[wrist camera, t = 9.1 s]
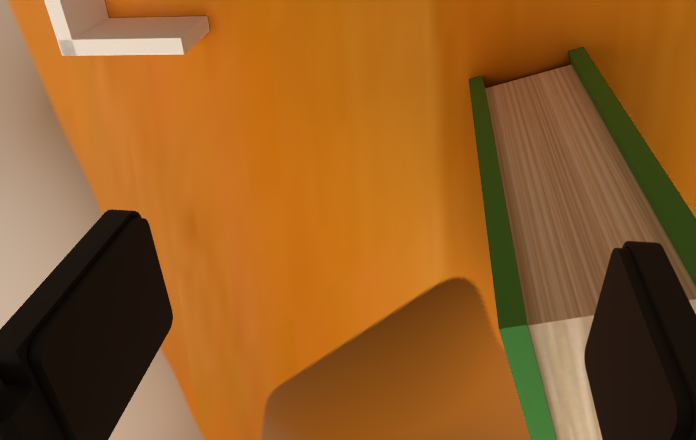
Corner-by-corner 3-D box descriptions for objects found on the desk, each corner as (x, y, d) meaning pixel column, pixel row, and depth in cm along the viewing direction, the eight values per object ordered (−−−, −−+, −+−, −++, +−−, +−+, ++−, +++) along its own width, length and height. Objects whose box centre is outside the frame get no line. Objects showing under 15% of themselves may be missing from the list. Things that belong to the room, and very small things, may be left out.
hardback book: (468, 79, 40) (498, 329, 20) (583, 46, 38) (743, 290, 18) (518, 276, 48) (573, 586, 29) (613, 259, 46) (744, 580, 27)
